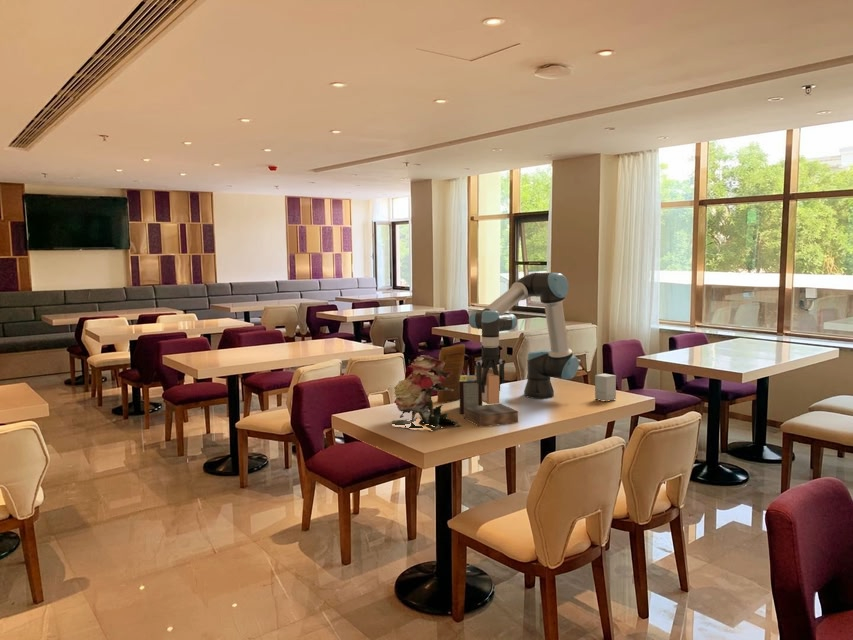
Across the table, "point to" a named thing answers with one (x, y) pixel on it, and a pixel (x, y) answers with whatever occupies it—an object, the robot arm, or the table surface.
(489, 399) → the carton
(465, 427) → the table surface
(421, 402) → the rose bouquet
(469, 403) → the protein box
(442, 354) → the pancake mix bag
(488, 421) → the display podium
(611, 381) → the supplement box
